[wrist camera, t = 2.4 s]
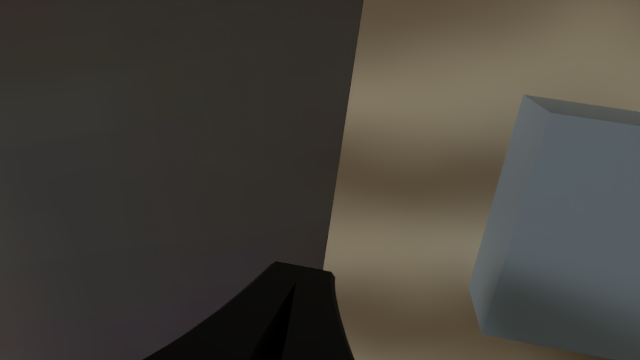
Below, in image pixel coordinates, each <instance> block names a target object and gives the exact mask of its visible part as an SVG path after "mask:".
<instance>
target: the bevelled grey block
mask: <svg viewBox="0 0 640 360" xmlns="http://www.w3.org/2000/svg"><path fill="white" fill-rule="evenodd" d="M468 288H469V291H470V295H471V298H472V302H473V305H474V309H475V312H476V316H477V319H478V323H479V326H480V330H481V333H482V335H487V336H492V337H497V338H503V339H508V340H513V341H519V342H524V343H529V344H534V345H540V346H545V347H550V348H555V349H561V350H566V351H571V352H577V353H582V354H587V355H592V356H598V357H603V358H608V359H614V360H640V112H638V111H631V110H624V109H618V108H611V107H604V106H597V105H591V104H584V103H577V102H571V101H564V100H557V99H550V98H544V97H537V96H530V95H523V97H522V100H521V104H520V107H519V111H518V114H517V118H516V121H515V125H514V128H513V132H512V135H511V139H510V142H509V146H508V149H507V153H506V156H505V160H504V164H503V167H502V171H501V174H500V178H499V181H498V185H497V188H496V192H495V195H494V199H493V202H492V206H491V209H490V213H489V216H488V220H487V223H486V227H485V230H484V234H483V237H482V241H481V245H480V248H479V252H478V255H477V259H476V262H475V266H474V269H473V273H472V276H471V280H470V283H469V287H468Z"/></svg>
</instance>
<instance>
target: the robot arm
mask: <svg viewBox="0 0 640 360" xmlns="http://www.w3.org/2000/svg"><path fill="white" fill-rule="evenodd" d="M143 360H355V359H354V357H353V354H352V351H351V348H350V346H349V343H348V340H347V337H346V333H345V330H344V327H343V323H342V320H341V316H340V312H339V308H338V303H337V298H336V290H335V276H334V275H333V273H332V272H331V271H325V270H320V269H314V268H309V267H304V266H298V265H293V264H287V263H282V262H274V263H273V264H271V265H270V266H269V267H268V268H267V269H266V270H264V271H263V272H262V273H261V274H260V275H259V276H258V277H257V278H256V279H255V280H254V281H252V282H251V283H250V284H249V285H248V286H247V287H246V288H244V289H243V290H242V291H241V292H240V293H239V294H237V295H236V296H235V297H234V298H232V299H231V300H230V301H229V302H228V303H226V304H225V305H224V306H223V307H221V308H220V309H219V310H218V311H216V312H215V313H214V314H212V315H211V316H209V317H208V318H207V319H205V320H204V321H202V322H201V323H200V324H198V325H197V326H195V327H194V328H193V329H191V330H190V331H189V332H187V333H186V334H184V335H183V336H181V337H179V338H178V339H176V340H175V341H173V342H172V343H170V344H169V345H167V346H165V347H164V348H162V349H160V350H159V351H157V352H155V353H153V354H152V355H150V356H148V357H147V358H145V359H143Z"/></svg>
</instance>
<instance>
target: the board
mask: <svg viewBox="0 0 640 360" xmlns="http://www.w3.org/2000/svg"><path fill="white" fill-rule="evenodd" d="M523 95H530V96H537V97H544V98H550V99H557V100H564V101H571V102H577V103H584V104H591V105H597V106H604V107H611V108H618V109H624V110H631V111H638V112H640V0H364V3H363V9H362V16H361V23H360V29H359V36H358V43H357V49H356V56H355V62H354V69H353V76H352V82H351V89H350V96H349V102H348V109H347V115H346V122H345V129H344V135H343V142H342V149H341V155H340V162H339V169H338V175H337V182H336V188H335V195H334V202H333V208H332V215H331V222H330V228H329V235H328V242H327V248H326V255H325V261H324V268H323V270H325V271H331V272H332V273H333V275H334V276H335V290H336V298H337V303H338V308H339V312H340V316H341V320H342V323H343V327H344V330H345V333H346V337H347V340H348V343H349V346H350V348H351V351H352V354H353V357H354V359H355V360H614V359H608V358H603V357H598V356H592V355H587V354H582V353H577V352H571V351H566V350H561V349H555V348H550V347H545V346H540V345H534V344H529V343H524V342H519V341H513V340H508V339H503V338H497V337H492V336H487V335H482V333H481V330H480V326H479V323H478V319H477V316H476V312H475V309H474V305H473V302H472V298H471V295H470V291H469V288H468V287H469V283H470V280H471V276H472V273H473V269H474V266H475V262H476V259H477V255H478V252H479V248H480V245H481V241H482V237H483V234H484V230H485V227H486V223H487V220H488V216H489V213H490V209H491V206H492V202H493V199H494V195H495V192H496V188H497V185H498V181H499V178H500V174H501V171H502V167H503V164H504V160H505V156H506V153H507V149H508V146H509V142H510V139H511V135H512V132H513V128H514V125H515V121H516V118H517V114H518V111H519V107H520V104H521V100H522V97H523Z"/></svg>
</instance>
